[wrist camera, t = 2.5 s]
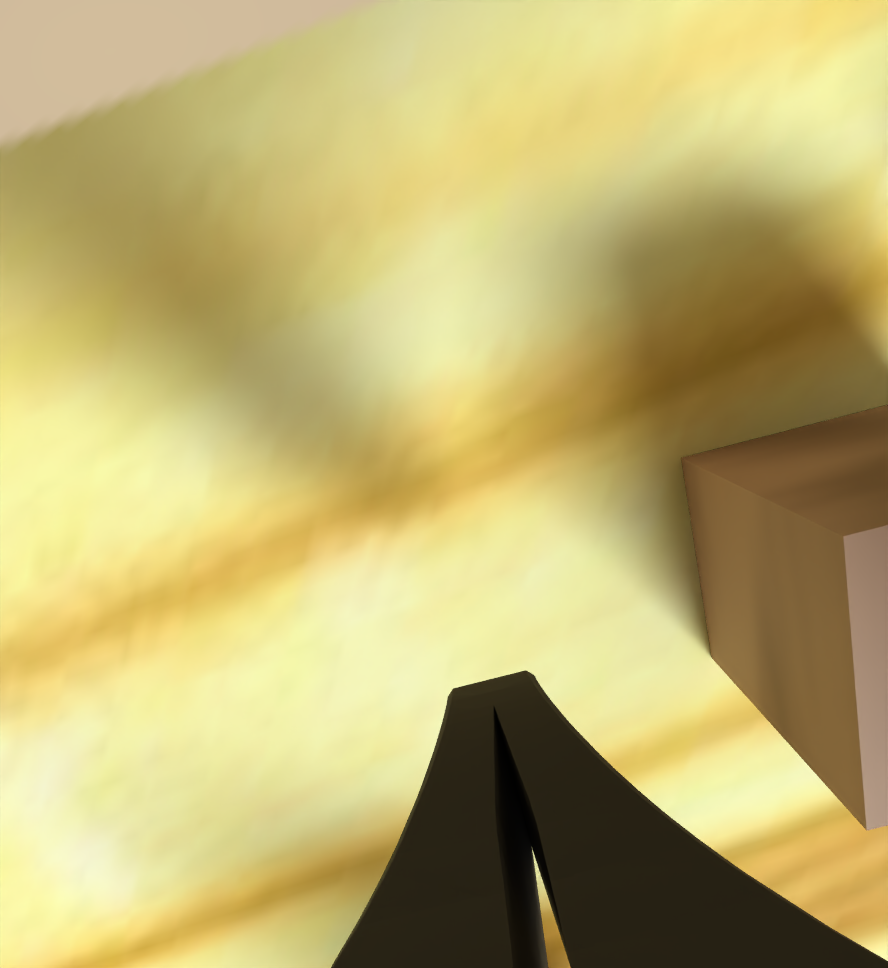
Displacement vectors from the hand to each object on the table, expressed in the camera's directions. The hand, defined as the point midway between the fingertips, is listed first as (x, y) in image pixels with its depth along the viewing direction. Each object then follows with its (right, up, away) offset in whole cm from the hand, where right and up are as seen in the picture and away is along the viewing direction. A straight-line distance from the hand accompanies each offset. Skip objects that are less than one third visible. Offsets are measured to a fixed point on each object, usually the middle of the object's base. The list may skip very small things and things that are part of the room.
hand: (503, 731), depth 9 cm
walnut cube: (+7, +3, +4) cm, 9 cm away
